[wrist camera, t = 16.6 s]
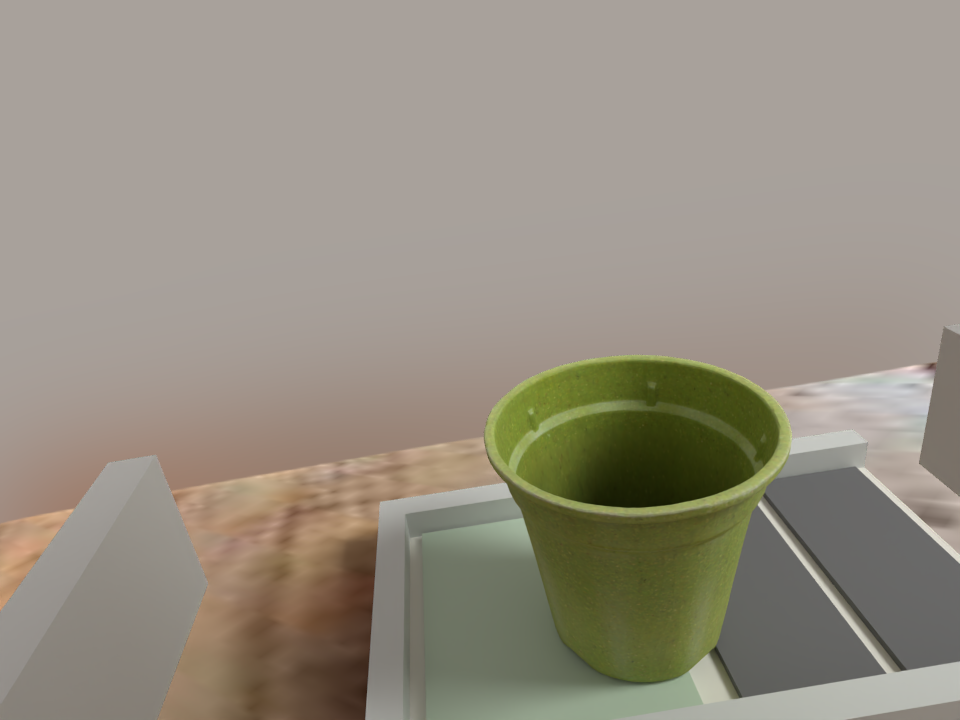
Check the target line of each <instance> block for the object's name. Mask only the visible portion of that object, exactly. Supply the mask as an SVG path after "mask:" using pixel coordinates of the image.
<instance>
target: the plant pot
mask: <svg viewBox="0 0 960 720" xmlns="http://www.w3.org/2000/svg"><path fill="white" fill-rule="evenodd" d="M791 442H792V432H791V426H790V422H789V420H788V418H787V416H786V414H785V412H784V410H783V409H782V407H781V405H780V404H779V403H778V402H777V401H776V400H775V399H774V398H773V397H772V396H771V395H770V394H769V393H767V392H766V391H765V390H763V389H762V388H761V387H759V386H758V385H756V384H755V383H753V382H751V381H749V380H748V379H746V378H744V377H742V376H739V375H737V374H735V373H732V372H730V371H728V370H725V369H722V368H719V367H716V366H714V365H709V364H705V363H702V362H697V361H692V360H688V359H681V358H674V357H666V356H653V355H648V356H646V355H623V356H613V357H612V356H609V357H604V358H593V359H588V360H582V361H579V362H574V363H570V364H566V365H561V366H558V367H555V368H553V369H550V370H547V371H544V372H542V373H540V374H538V375H535V376H533V377H531V378H529V379H527V380H525V381H523V382H522V383H521V384H519V385H517V386H516V387H514V388H513V389H512V390H511V391H510V392H509V393H508V394H506V395H505V396H504V397H503V398H502V399H500V401H499V402H498V403H497V404H496V405H495V406H494V407H493V409H492V411H491V412H490V414H489V416H488V419H487V422H486V426H485V430H484V443H485V448H486V452H487V455H488V458H489V461H490V463H491V465H492V466H493V468H494V470H495V471H496V472H497V474H498V475H499V476H500V477H501V478H502V479H503V480H504V481H505V482H506V483H507V486H508V488H509V491H510V493H511V495H512V497H513V499H514V501H515V502H516V504H517V505H518V506H519V508H520V509H521V512H522V515H523V518H524V521H525V525H526V528H527V531H528V534H529V538H530V541H531V544H532V548H533V551H534V554H535V558H536V561H537V565H538V568H539V572H540V575H541V578H542V582H543V585H544V589H545V592H546V596H547V600H548V603H549V607H550V610H551V613H552V617H553V620H554V624H555V627H556V630H557V632H558V634H559V637H560V638H561V640H562V641H563V643H564V644H565V645H567V646H568V647H570V648H571V649H572V650H573V651H574V652H575V653H576V654H577V655H578V656H580V657H581V658H582V659H583V660H584V661H585V662H586V663H588V664H589V665H590V667H591V668H593V669H594V670H596V671H598V672H600V673H602V674H604V675H607V676H610V677H613V678H617V679H621V680H626V681H631V682H656V681H663V680H668V679H672V678H675V677H678V676H681V675H683V674H685V673H687V672H688V671H689V670H690V669H692V668H693V667H694V666H695V665H696V664H697V663H698V662H699V661H700V660H701V659H702V658H703V657H705V656H706V655H707V654H708V653H709V652H710V651H711V650H712V649H713V648H714V647H715V646H716V644H717V642H718V639H719V636H720V633H721V628H722V625H723V621H724V617H725V614H726V610H727V606H728V602H729V597H730V593H731V588H732V585H733V581H734V577H735V573H736V569H737V565H738V562H739V558H740V554H741V550H742V546H743V542H744V539H745V535H746V531H747V528H748V524H749V521H750V517H751V514H752V511H753V510H754V509H755V508H756V506H757V505H758V503H759V502H760V500H761V498H762V496H763V495H764V493H765V490H766V487H767V486H768V485H769V484H770V483H771V482H772V481H773V480H774V479H775V478H776V477H777V475H778V474H779V473H780V472H781V470H782V469H783V467H784V465H785V463H786V461H787V459H788V457H789V453H790V449H791Z"/></svg>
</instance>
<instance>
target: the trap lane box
mask: <svg viewBox="0 0 960 720" xmlns="http://www.w3.org/2000/svg"><path fill="white" fill-rule="evenodd" d="M867 446H868V442H867V441H866V440H865V439H863V438H862V437H861V436H860V435H859V434H858V433H856V432H855V431H854V430H853V429H852V430H845V431H839V432H832V433H826V434H819V435H813V436H806V437H800V438H793V439H792V442H791V449H790V453H789V457H788V459H787V461H786V463H785V465H784V467H783V469H782V470H781V472H780V473H779V474H778V475H777V477H776V478H775V479H774V480H773V481H772V482H771V483H770V484H769V485H768V486H767V487H766V490H765V493H764V495H763V496H762V498H761V500H760V502H759V503H758V505H757V506H756V508H755V509H754V510H753V511H752V514H751V517H750V521H749V524H748V528H747V531H746V535H745V539H744V542H743V546H742V550H741V554H740V558H739V562H738V565H737V569H736V573H735V577H734V581H733V585H732V588H731V593H730V597H729V602H728V606H727V610H726V614H725V617H724V621H723V625H722V628H721V633H720V636H719V639H718V642H717V644H716V646H715V647H714V648H713V649H712V650H711V651H710V652H709V653H708V654H707V655H706V656H705V657H703V658H702V659H701V660H700V661H699V662H698V663H697V664H696V665H695V666H694V667H693V668H692V669H690V670H689V671H688V672H687V673H685V674H683V675H681V676H678V677H675V678H672V679H668V680H663V681H656V682H631V681H626V680H621V679H617V678H613V677H610V676H607V675H604V674H602V673H600V672H598V671H596V670H594V669H593V668H591V667H590V665H589V664H588V663H586V662H585V661H584V660H583V659H582V658H581V657H580V656H578V655H577V654H576V653H575V652H574V651H573V650H572V649H571V648H570V647H568V646H567V645H565V644H564V643H563V641H562V640H561V638H560V637H559V634H558V632H557V630H556V627H555V624H554V620H553V617H552V613H551V610H550V607H549V603H548V600H547V596H546V592H545V589H544V585H543V582H542V578H541V575H540V572H539V568H538V565H537V561H536V558H535V554H534V551H533V548H532V544H531V541H530V538H529V534H528V531H527V528H526V525H525V521H524V518H523V515H522V512H521V509H520V508H519V506H518V505H517V504H516V502H515V501H514V499H513V497H512V495H511V493H510V491H509V488H508V486H507V483H501V484H494V485H488V486H481V487H475V488H468V489H462V490H455V491H449V492H442V493H435V494H429V495H422V496H416V497H409V498H403V499H396V500H390V501H383V502H380V511H379V525H378V540H377V555H376V569H375V584H374V599H373V613H372V628H371V643H370V658H369V672H368V687H367V702H366V716H365V720H960V555H959V554H958V553H957V552H956V551H955V550H954V549H953V548H952V547H951V546H950V545H949V544H947V543H946V542H945V541H944V540H943V539H942V538H941V537H940V536H939V535H938V534H937V533H935V532H934V531H933V530H932V529H931V528H930V527H929V526H928V525H927V524H926V523H925V522H923V521H922V520H921V519H920V518H919V517H918V516H917V515H916V514H915V513H914V512H913V511H911V510H910V509H909V508H908V507H907V506H906V505H905V504H904V503H903V502H902V501H901V500H899V499H898V498H897V497H896V496H895V495H894V494H893V493H892V492H891V491H890V490H889V489H887V488H886V487H885V486H884V485H883V484H882V483H881V482H880V481H879V480H878V479H877V478H875V477H874V476H873V475H872V474H871V473H870V472H869V471H868V470H867V469H866V468H865V467H864V466H865V459H866V453H867Z"/></svg>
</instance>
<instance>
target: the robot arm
mask: <svg viewBox="0 0 960 720" xmlns="http://www.w3.org/2000/svg"><path fill="white" fill-rule="evenodd" d="M919 464H921V465H922V466H923V467H924V468H925V469H927V470H928V471H929V472H930V473H932V474H933V475H934V476H935V477H936V478H938V479H939V480H940V481H941V482H942V483H944V484H945V485H946V486H947V487H949V488H950V489H951V490H952V491H953V492H955V493H956V494H957V495H958V496H960V324H957V325H951V326H944V329H943V334H942V340H941V345H940V351H939V356H938V362H937V367H936V373H935V378H934V384H933V389H932V395H931V400H930V406H929V411H928V417H927V422H926V428H925V433H924V439H923V444H922V450H921V455H920V461H919ZM207 585H208V581H207V579H206V576H205V574H204V572H203V569H202V567H201V564H200V562H199V559H198V557H197V554H196V552H195V549H194V547H193V544H192V542H191V540H190V537H189V535H188V532H187V530H186V527H185V525H184V522H183V520H182V517H181V515H180V513H179V510H178V508H177V505H176V503H175V500H174V498H173V495H172V493H171V490H170V488H169V486H168V483H167V481H166V478H165V476H164V474H163V471H162V468H161V466H160V464H159V461H158V458H157V456H156V455H152V456H146V457H140V458H134V459H128V460H121V461H115V462H109V463H108V464H107V465H106V467H105V468H104V469H103V471H102V472H101V474H100V475H99V476H98V478H97V479H96V480H95V482H94V483H93V485H92V486H91V487H90V489H89V490H88V491H87V493H86V494H85V496H84V497H83V498H82V500H81V501H80V502H79V504H78V505H77V507H76V508H75V509H74V511H73V512H72V514H71V515H70V516H69V518H68V519H67V520H66V522H65V523H64V525H63V526H62V527H61V529H60V530H59V531H58V533H57V534H56V536H55V537H54V538H53V540H52V541H51V543H50V544H49V545H48V547H47V548H46V549H45V551H44V552H43V554H42V555H41V556H40V558H39V559H38V560H37V562H36V563H35V565H34V566H33V567H32V569H31V570H30V571H29V573H28V574H27V576H26V577H25V578H24V580H23V581H22V583H21V584H20V585H19V587H18V588H17V589H16V591H15V592H14V594H13V595H12V596H11V598H10V599H9V600H8V602H7V603H6V605H5V606H4V607H3V609H2V610H1V612H0V720H157V718H158V716H159V713H160V710H161V708H162V705H163V702H164V700H165V697H166V694H167V692H168V689H169V686H170V684H171V681H172V678H173V676H174V673H175V670H176V668H177V665H178V663H179V660H180V657H181V655H182V652H183V649H184V647H185V644H186V641H187V639H188V636H189V633H190V631H191V628H192V625H193V623H194V620H195V617H196V615H197V612H198V609H199V607H200V604H201V601H202V599H203V596H204V593H205V591H206V588H207Z"/></svg>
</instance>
